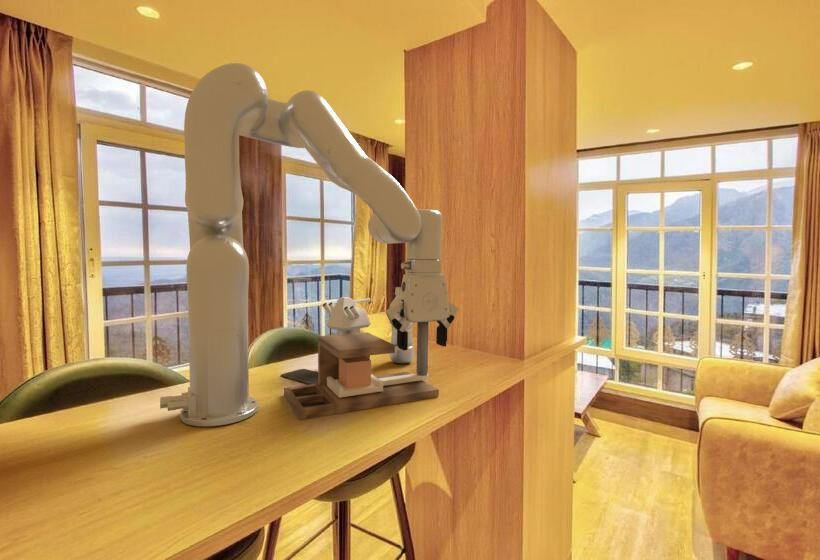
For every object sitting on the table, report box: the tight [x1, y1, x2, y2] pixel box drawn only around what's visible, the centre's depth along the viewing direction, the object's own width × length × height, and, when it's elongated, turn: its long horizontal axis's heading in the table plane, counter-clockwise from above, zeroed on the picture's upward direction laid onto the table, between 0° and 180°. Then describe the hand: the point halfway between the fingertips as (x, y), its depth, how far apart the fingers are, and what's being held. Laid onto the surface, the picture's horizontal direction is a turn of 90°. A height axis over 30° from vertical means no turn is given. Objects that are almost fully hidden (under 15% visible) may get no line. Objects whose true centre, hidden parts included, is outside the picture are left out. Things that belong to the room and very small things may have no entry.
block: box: [339, 356, 372, 389], centre depth 84 cm, size 5×5×5 cm
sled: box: [327, 322, 430, 398], centre depth 87 cm, size 21×8×13 cm, turn 118°
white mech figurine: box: [321, 296, 372, 335], centre depth 105 cm, size 12×13×18 cm
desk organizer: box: [283, 332, 440, 421], centre depth 85 cm, size 28×14×12 cm, turn 118°
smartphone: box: [279, 368, 318, 385], centre depth 96 cm, size 7×1×15 cm
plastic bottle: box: [389, 286, 415, 364], centre depth 111 cm, size 6×7×20 cm
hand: (422, 347), depth 91 cm, fingers open, 9 cm apart
